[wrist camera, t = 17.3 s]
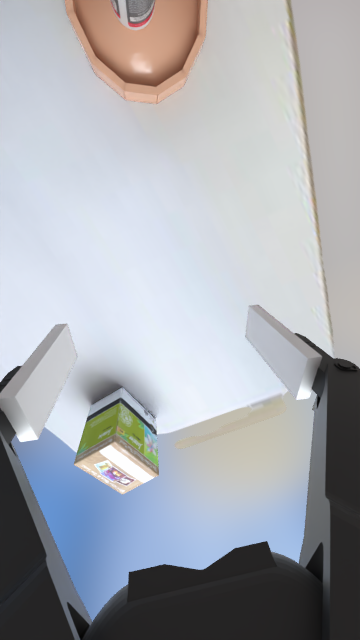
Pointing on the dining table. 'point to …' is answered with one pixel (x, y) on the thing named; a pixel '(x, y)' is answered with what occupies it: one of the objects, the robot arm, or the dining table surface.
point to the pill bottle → (133, 12)
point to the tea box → (119, 443)
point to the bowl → (141, 46)
